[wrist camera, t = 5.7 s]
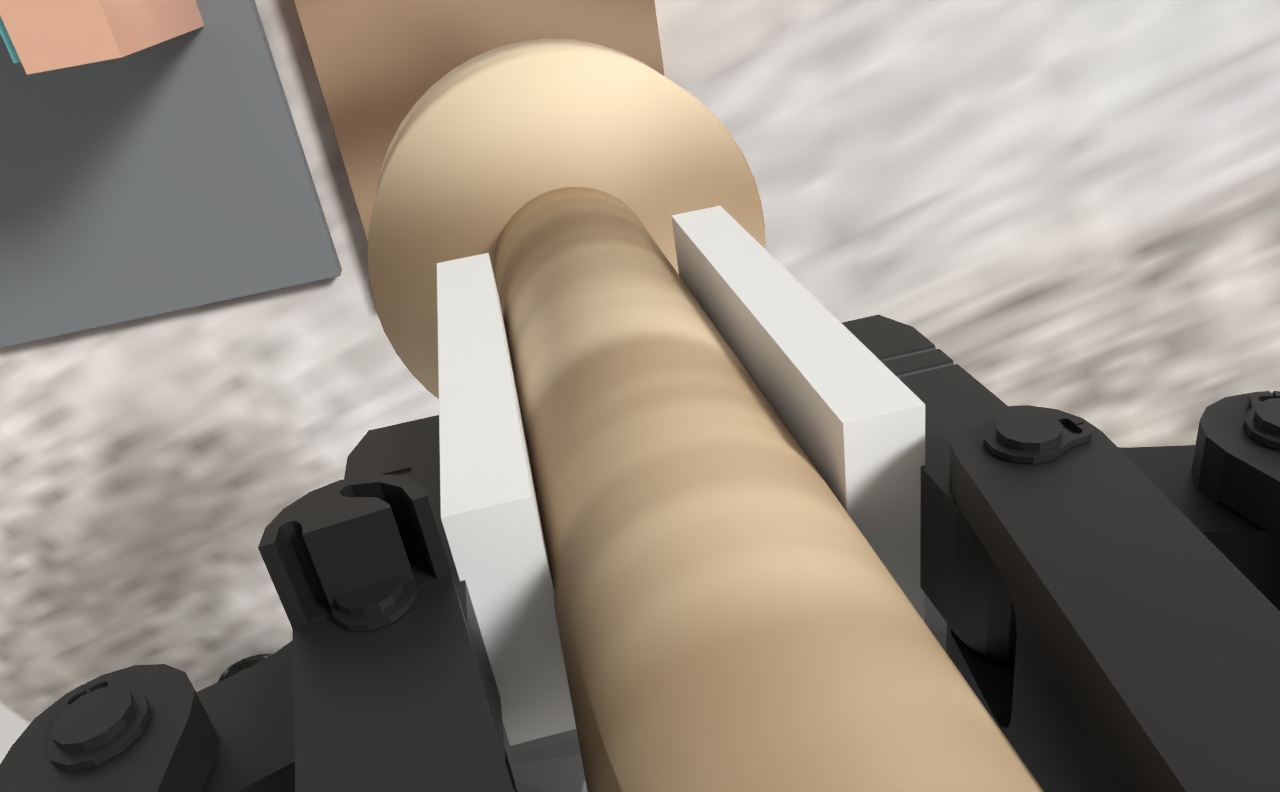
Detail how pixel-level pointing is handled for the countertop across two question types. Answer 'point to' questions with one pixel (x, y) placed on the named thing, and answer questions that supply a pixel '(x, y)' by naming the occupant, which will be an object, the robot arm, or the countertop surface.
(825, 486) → the masher
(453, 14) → the board
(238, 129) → the mat
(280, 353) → the countertop surface
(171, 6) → the tile
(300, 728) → the robot arm
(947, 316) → the countertop surface
